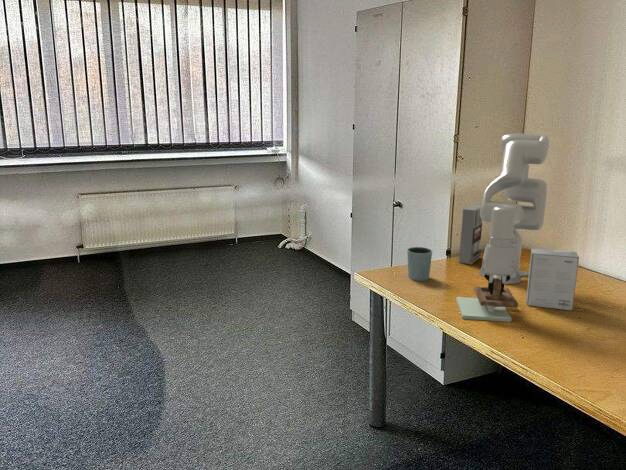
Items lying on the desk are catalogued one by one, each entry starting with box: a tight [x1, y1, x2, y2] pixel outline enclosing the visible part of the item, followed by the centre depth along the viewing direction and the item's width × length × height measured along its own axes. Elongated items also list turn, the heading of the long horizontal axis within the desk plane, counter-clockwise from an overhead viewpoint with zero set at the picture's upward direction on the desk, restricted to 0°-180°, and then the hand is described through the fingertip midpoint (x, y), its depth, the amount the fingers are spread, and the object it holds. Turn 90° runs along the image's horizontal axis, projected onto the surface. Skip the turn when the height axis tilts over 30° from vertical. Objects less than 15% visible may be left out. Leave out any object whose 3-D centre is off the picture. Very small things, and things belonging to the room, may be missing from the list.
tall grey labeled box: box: [458, 204, 483, 265], centre depth 252 cm, size 14×6×25 cm, turn 147°
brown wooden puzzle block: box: [473, 278, 519, 309], centre depth 192 cm, size 12×16×7 cm
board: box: [456, 296, 512, 323], centre depth 194 cm, size 16×18×4 cm
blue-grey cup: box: [406, 246, 433, 282], centre depth 228 cm, size 10×10×12 cm
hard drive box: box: [525, 248, 580, 311], centre depth 199 cm, size 16×8×20 cm, turn 71°
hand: (495, 292), depth 192 cm, fingers closed on brown wooden puzzle block, 2 cm apart
